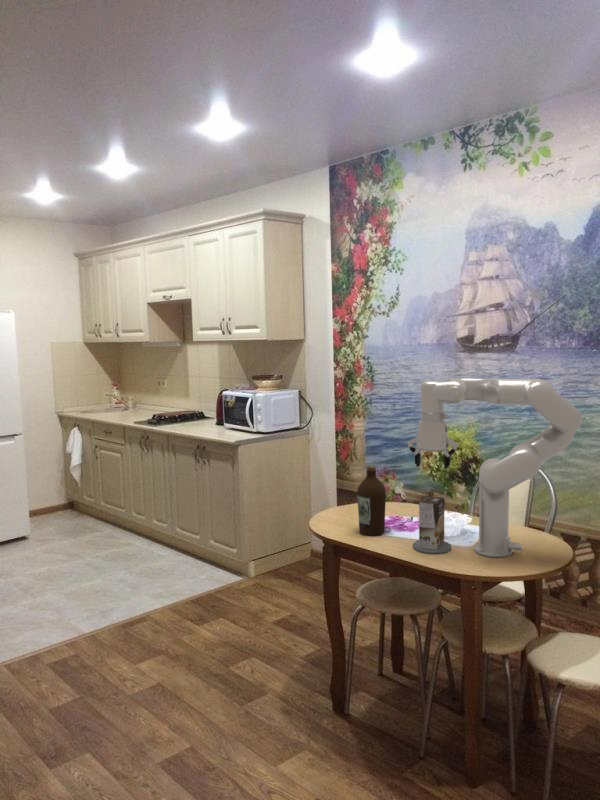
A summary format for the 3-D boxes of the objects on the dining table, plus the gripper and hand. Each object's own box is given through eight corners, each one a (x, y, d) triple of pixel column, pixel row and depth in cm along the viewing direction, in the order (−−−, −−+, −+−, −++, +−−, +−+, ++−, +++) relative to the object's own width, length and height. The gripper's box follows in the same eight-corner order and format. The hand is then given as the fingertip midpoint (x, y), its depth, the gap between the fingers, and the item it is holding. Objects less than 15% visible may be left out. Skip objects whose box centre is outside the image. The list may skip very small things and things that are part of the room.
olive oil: (373, 526, 252) (372, 462, 249) (392, 533, 243) (391, 467, 241) (351, 531, 246) (350, 466, 243) (370, 538, 237) (369, 471, 235)
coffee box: (436, 550, 220) (436, 503, 218) (418, 547, 223) (418, 501, 222) (444, 542, 228) (444, 497, 226) (427, 539, 231) (427, 495, 230)
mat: (454, 544, 229) (454, 541, 229) (446, 556, 217) (446, 553, 217) (418, 540, 235) (418, 537, 234) (408, 551, 223) (408, 548, 223)
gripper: (460, 416, 221) (460, 466, 223) (410, 415, 228) (410, 463, 230) (455, 419, 214) (455, 470, 216) (404, 417, 222) (404, 467, 223)
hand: (432, 466), depth 223 cm, fingers open, 9 cm apart
